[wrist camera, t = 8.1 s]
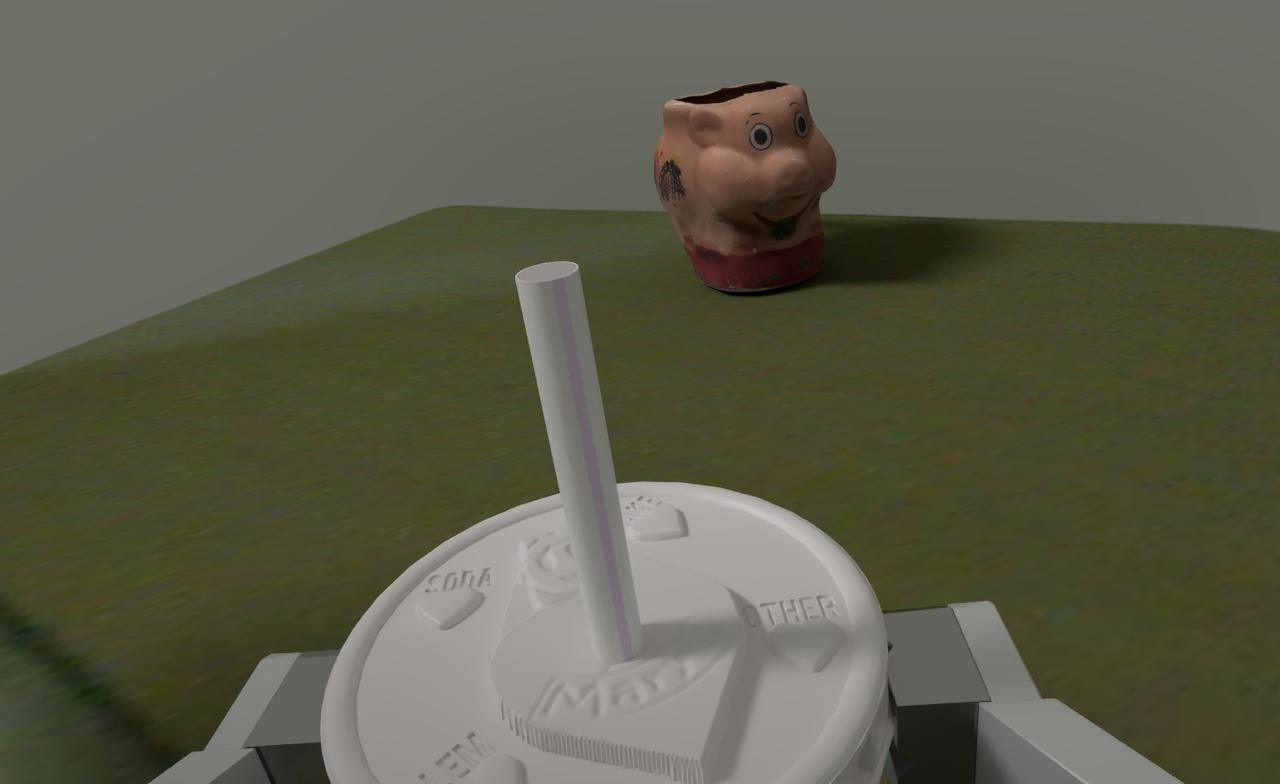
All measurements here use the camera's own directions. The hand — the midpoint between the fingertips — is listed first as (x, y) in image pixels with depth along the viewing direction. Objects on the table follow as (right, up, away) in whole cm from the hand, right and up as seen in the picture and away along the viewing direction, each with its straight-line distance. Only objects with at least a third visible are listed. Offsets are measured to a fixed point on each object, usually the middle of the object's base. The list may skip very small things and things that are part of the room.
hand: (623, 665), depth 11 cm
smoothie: (+1, -8, +3) cm, 8 cm away
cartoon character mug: (+9, +13, +56) cm, 58 cm away
